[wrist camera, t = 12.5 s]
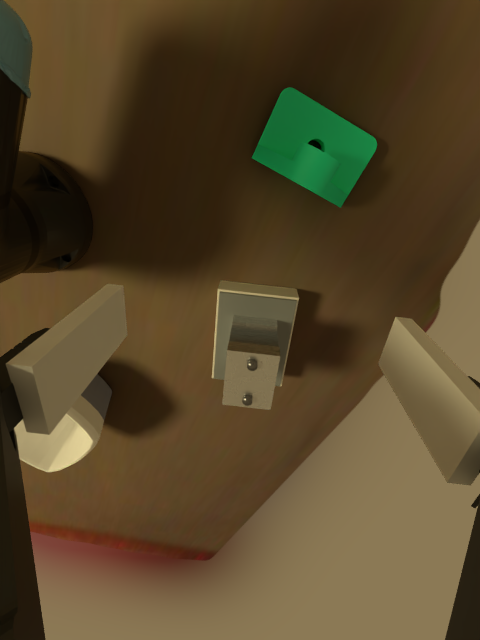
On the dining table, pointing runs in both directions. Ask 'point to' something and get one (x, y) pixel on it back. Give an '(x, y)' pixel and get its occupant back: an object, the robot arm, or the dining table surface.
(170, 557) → the dining table surface
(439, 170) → the dining table surface
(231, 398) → the housing
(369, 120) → the dining table surface
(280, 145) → the camera mount
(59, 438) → the bowl
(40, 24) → the dining table surface
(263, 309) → the plinth
